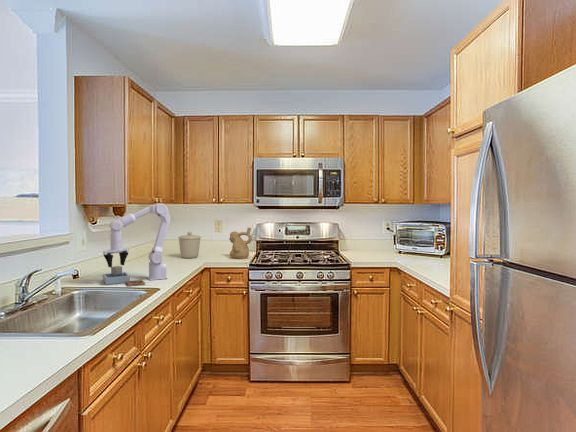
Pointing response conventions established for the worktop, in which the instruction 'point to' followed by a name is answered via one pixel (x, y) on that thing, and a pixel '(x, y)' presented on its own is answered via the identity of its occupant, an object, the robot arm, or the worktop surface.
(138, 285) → the socket
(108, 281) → the bin
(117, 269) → the strut
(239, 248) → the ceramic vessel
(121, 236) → the robot arm
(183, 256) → the canister
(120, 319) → the worktop surface
